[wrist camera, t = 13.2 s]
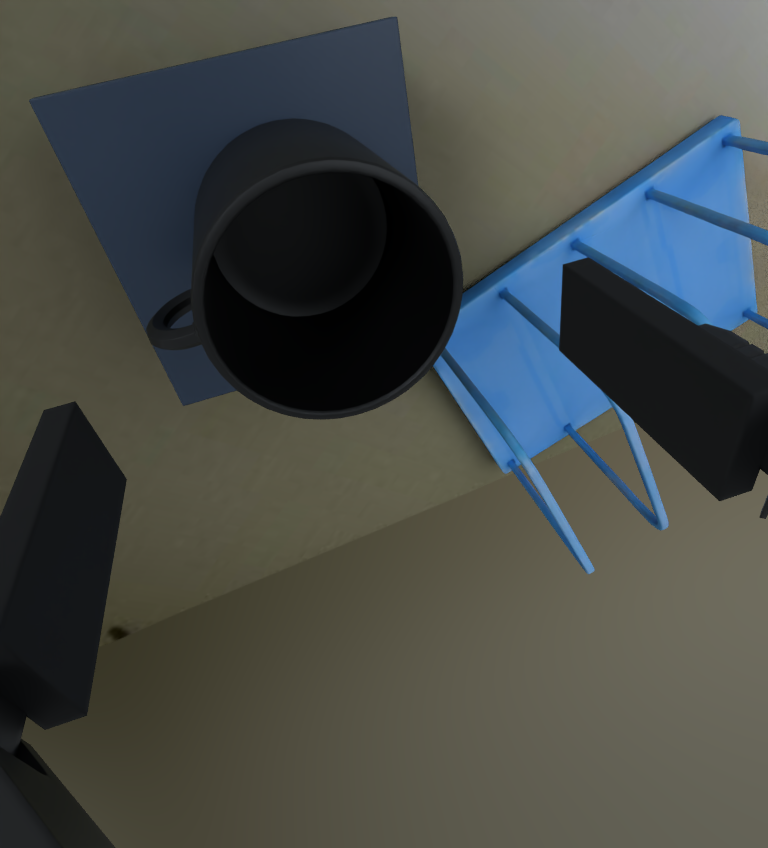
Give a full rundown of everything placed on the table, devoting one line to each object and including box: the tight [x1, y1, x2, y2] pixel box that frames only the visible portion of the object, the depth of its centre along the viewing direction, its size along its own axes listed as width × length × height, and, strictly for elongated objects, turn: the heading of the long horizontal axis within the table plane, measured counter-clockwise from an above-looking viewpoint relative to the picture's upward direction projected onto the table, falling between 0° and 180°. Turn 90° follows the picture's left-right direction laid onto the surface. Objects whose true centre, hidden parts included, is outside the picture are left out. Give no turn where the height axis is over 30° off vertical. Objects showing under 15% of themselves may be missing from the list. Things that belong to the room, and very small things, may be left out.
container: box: [29, 17, 418, 406], centre depth 29 cm, size 15×15×8 cm
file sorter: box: [433, 115, 768, 574], centre depth 37 cm, size 25×17×15 cm
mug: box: [146, 118, 463, 419], centre depth 22 cm, size 9×12×9 cm
